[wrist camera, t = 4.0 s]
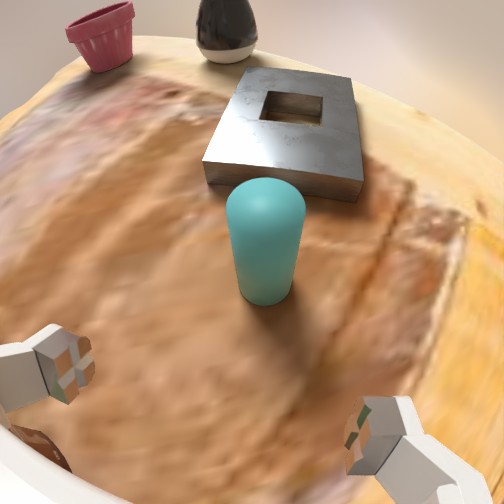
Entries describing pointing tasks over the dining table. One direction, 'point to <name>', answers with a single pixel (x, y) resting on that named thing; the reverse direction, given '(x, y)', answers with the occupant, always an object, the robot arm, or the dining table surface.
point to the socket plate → (289, 134)
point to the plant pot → (104, 36)
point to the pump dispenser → (226, 30)
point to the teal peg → (265, 237)
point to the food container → (40, 445)
